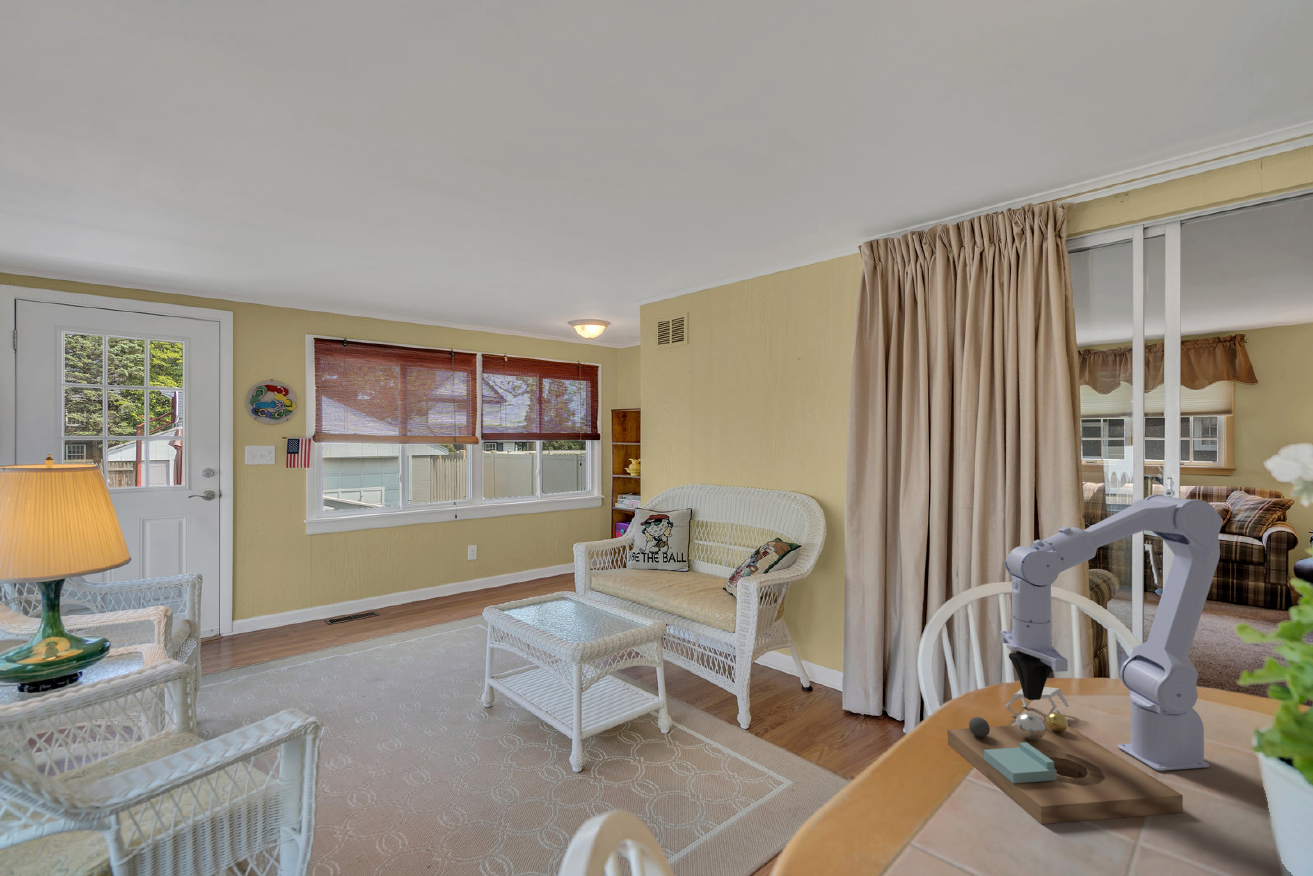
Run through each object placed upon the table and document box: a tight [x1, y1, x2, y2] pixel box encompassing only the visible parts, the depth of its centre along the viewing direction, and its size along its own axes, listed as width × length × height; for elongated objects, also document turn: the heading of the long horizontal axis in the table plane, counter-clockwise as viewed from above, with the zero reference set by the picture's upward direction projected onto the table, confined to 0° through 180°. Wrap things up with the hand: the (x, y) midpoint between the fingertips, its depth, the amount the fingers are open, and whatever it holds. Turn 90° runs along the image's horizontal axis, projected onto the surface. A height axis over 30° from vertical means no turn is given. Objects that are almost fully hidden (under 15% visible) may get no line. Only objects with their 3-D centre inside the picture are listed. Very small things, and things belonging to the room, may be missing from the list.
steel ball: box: [1015, 711, 1045, 741], centre depth 107 cm, size 4×4×4 cm
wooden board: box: [947, 722, 1184, 825], centre depth 100 cm, size 22×23×2 cm
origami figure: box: [1004, 686, 1070, 718], centre depth 122 cm, size 12×8×5 cm
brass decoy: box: [1045, 711, 1069, 732], centre depth 109 cm, size 3×3×3 cm
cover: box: [984, 742, 1058, 783], centre depth 97 cm, size 7×7×2 cm
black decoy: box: [968, 716, 991, 737], centre depth 108 cm, size 3×3×3 cm
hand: (1032, 698), depth 106 cm, fingers closed
